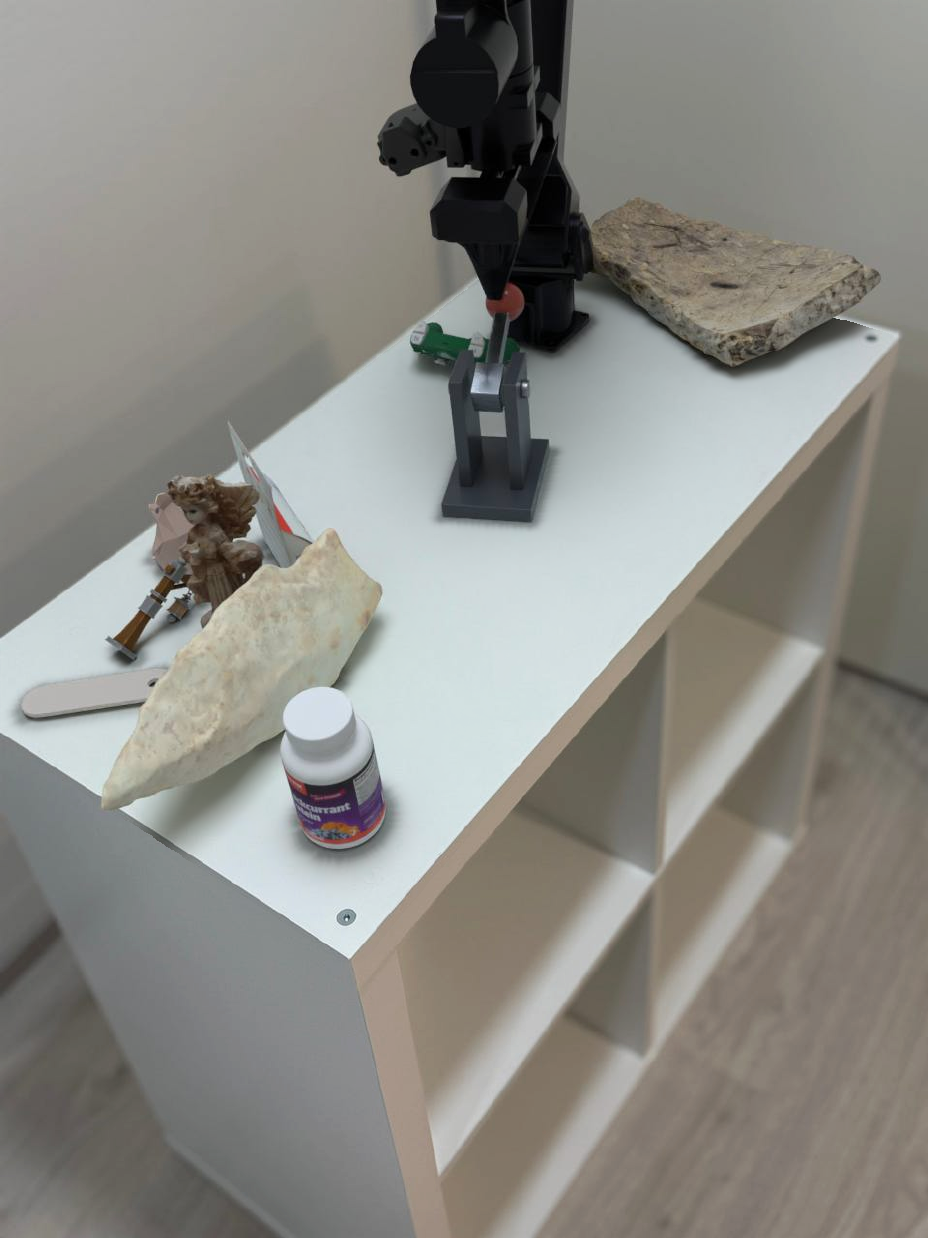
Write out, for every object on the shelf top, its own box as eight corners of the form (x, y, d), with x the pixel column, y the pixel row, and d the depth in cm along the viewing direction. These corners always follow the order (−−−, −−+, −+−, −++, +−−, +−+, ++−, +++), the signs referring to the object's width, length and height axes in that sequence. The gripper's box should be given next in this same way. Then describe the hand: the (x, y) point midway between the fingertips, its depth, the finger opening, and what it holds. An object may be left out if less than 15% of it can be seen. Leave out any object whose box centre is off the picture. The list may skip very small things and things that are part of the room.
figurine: (178, 669, 87) (119, 501, 77) (219, 611, 91) (167, 444, 81) (273, 690, 85) (224, 520, 75) (310, 630, 89) (269, 461, 78)
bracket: (465, 446, 103) (453, 332, 96) (549, 450, 102) (544, 335, 94) (442, 516, 97) (427, 400, 90) (531, 522, 96) (524, 404, 88)
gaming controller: (423, 364, 116) (394, 349, 110) (434, 324, 115) (405, 307, 110) (512, 384, 112) (487, 369, 107) (524, 342, 112) (499, 326, 106)
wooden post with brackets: (219, 585, 92) (187, 556, 88) (153, 673, 91) (118, 649, 87) (203, 575, 93) (171, 546, 89) (138, 663, 92) (102, 638, 88)
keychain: (174, 700, 85) (177, 672, 88) (172, 694, 85) (175, 665, 87) (20, 723, 85) (27, 694, 87) (17, 717, 85) (25, 688, 87)
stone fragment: (767, 397, 105) (904, 301, 114) (774, 336, 101) (916, 240, 110) (529, 284, 120) (666, 207, 129) (527, 227, 116) (668, 151, 125)
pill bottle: (284, 838, 76) (252, 735, 70) (324, 772, 80) (297, 668, 73) (364, 862, 75) (339, 759, 68) (401, 793, 78) (380, 688, 71)
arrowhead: (268, 510, 87) (54, 757, 70) (342, 499, 84) (137, 756, 67) (328, 624, 92) (142, 881, 75) (400, 618, 89) (224, 885, 72)
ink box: (291, 526, 97) (262, 404, 89) (336, 597, 91) (309, 472, 83) (256, 539, 97) (224, 417, 89) (299, 611, 90) (268, 486, 82)
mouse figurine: (219, 599, 92) (198, 530, 88) (140, 566, 96) (116, 498, 91) (263, 557, 95) (245, 488, 91) (185, 527, 99) (163, 459, 94)
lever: (491, 298, 99) (486, 273, 96) (528, 299, 98) (524, 274, 95) (469, 413, 94) (463, 390, 92) (508, 415, 94) (503, 391, 91)
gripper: (412, 15, 95) (434, 208, 106) (343, 122, 82) (376, 328, 93) (558, 13, 92) (564, 211, 103) (510, 123, 80) (523, 335, 91)
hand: (506, 267), depth 98 cm, fingers open, 9 cm apart
